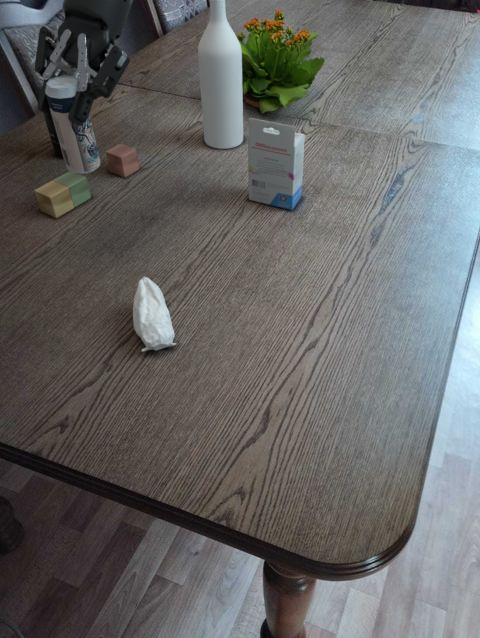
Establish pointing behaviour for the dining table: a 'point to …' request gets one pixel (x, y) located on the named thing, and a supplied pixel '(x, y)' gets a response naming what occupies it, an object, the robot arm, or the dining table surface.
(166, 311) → the white crumpled pouch
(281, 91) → the potted flower
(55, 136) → the supplement bottle
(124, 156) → the block row
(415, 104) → the dining table surface
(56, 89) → the white cylindrical canister
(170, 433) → the dining table surface
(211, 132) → the bottle
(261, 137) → the ink box
